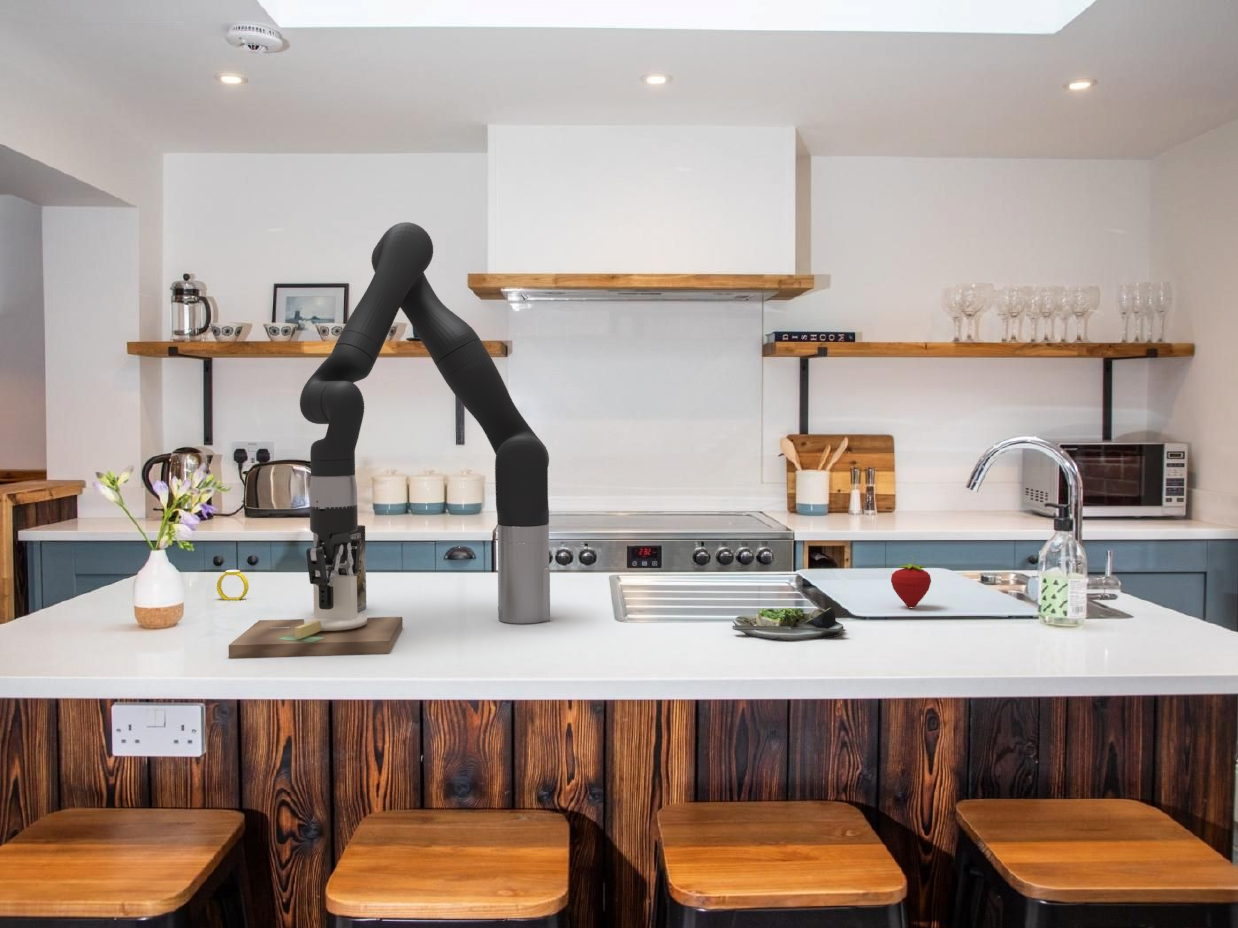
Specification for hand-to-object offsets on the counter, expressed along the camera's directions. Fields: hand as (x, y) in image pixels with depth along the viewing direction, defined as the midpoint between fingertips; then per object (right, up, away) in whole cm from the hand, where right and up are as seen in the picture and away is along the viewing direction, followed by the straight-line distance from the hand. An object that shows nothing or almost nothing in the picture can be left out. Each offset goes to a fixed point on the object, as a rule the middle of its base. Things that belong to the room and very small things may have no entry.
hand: (335, 604), depth 161 cm
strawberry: (+102, -4, +24) cm, 105 cm away
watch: (-31, -4, +35) cm, 47 cm away
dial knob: (-1, -3, -2) cm, 4 cm away
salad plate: (+76, -6, +6) cm, 77 cm away
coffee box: (-5, -5, +22) cm, 23 cm away
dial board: (-2, -6, -2) cm, 6 cm away
